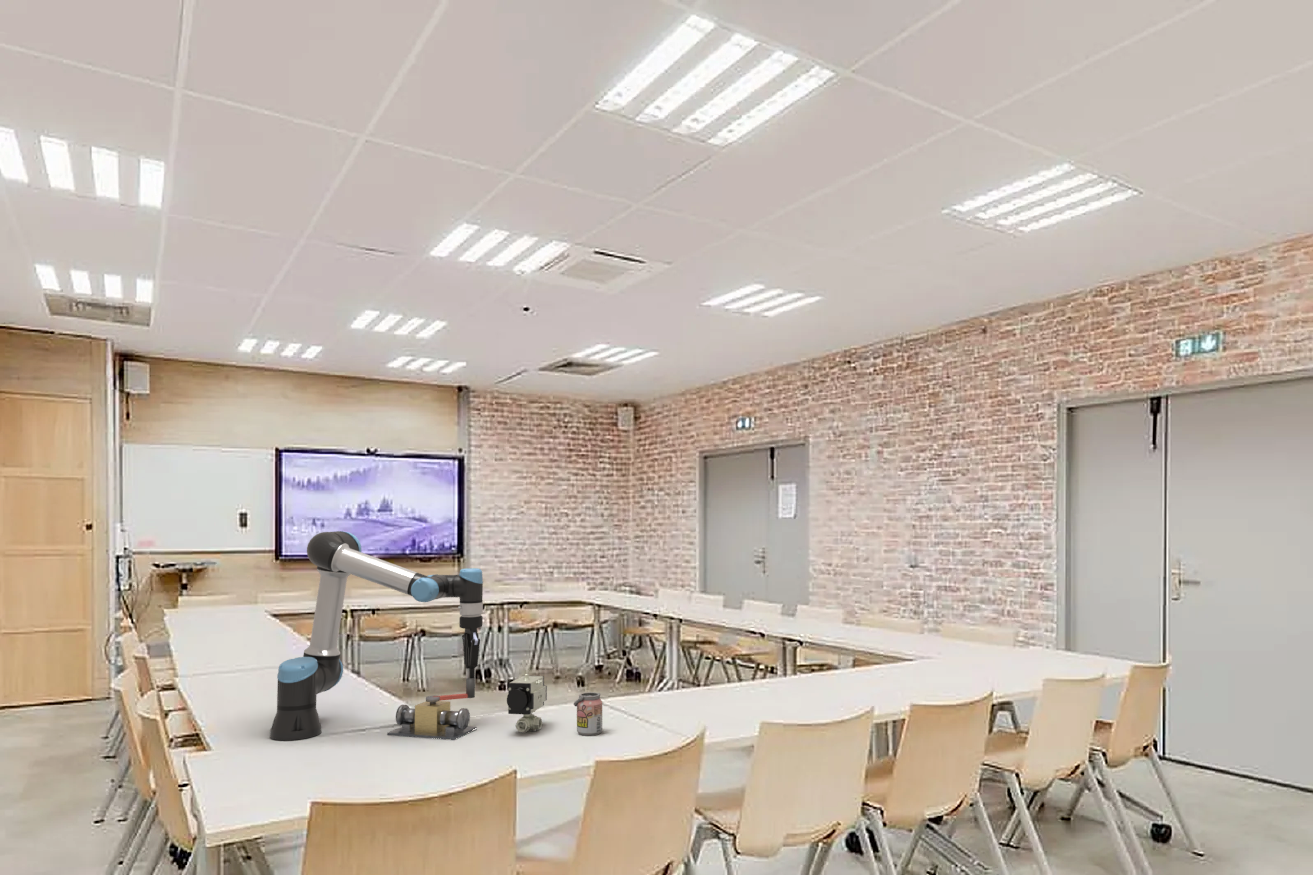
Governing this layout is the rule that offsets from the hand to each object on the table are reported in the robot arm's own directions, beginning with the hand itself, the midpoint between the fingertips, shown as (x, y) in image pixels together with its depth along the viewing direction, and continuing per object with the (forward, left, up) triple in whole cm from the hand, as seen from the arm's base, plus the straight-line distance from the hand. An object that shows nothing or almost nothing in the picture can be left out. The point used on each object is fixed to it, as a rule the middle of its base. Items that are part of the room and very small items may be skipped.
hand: (470, 687), depth 281 cm
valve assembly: (-8, -10, -13) cm, 18 cm away
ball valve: (+21, 0, -13) cm, 24 cm away
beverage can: (+41, +2, -13) cm, 43 cm away
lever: (-4, -6, -3) cm, 8 cm away
